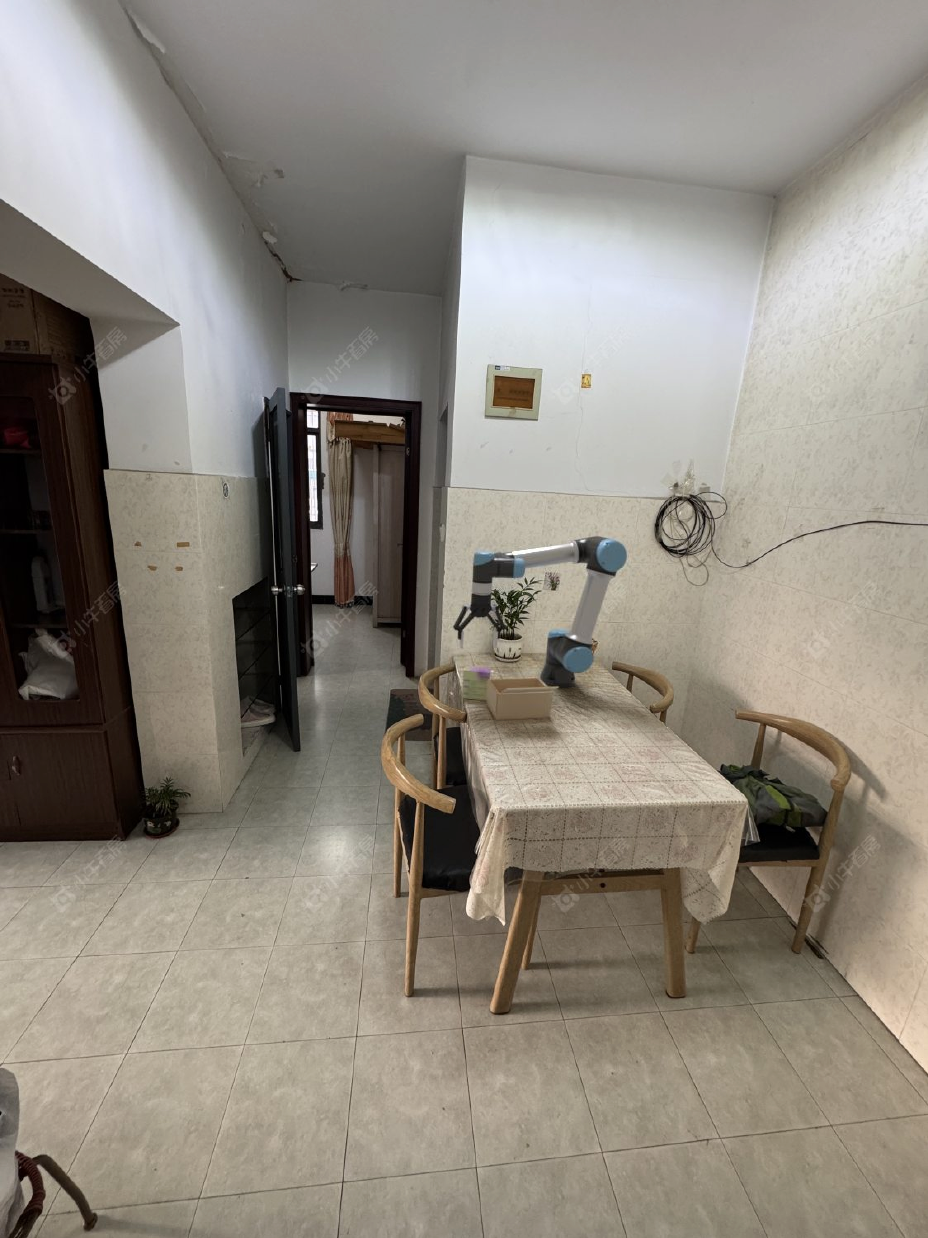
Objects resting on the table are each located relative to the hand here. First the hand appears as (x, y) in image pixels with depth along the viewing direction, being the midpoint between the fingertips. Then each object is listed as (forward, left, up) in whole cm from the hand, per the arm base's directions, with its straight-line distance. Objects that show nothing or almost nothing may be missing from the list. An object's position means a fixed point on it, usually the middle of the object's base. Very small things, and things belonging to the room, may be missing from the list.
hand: (478, 647), depth 193 cm
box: (0, 0, -21) cm, 21 cm away
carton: (-13, +14, -21) cm, 28 cm away
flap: (-13, +25, -8) cm, 29 cm away
